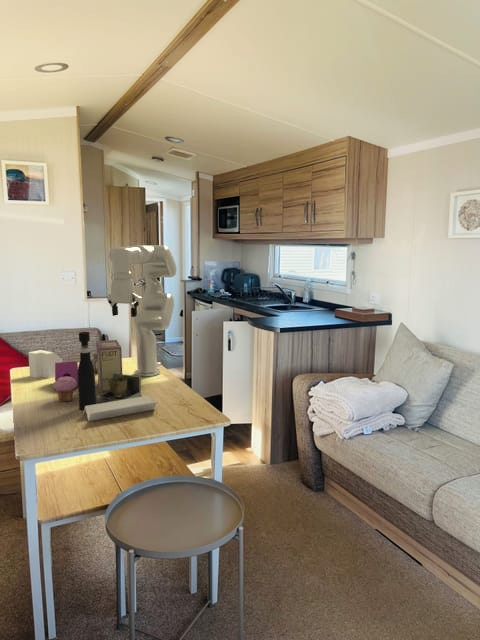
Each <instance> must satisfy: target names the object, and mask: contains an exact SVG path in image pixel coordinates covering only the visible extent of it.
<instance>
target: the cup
mask: <svg viewBox="0 0 480 640" xmlns="http://www.w3.org/2000/svg"><path fill="white" fill-rule="evenodd" d="M109 385H110V390H111V392H112V393H113V394H115V395H114V397H115V398H122V397H123V393H125V391H126V388H127V377H126V379H124V377H122V376H121V377H119V378H118V377H117V379H116V378H115V377H114V378H113V377H112V379H111V378H110V379H109Z"/></svg>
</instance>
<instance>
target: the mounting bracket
mask: <svg viewBox="0 0 480 640" xmlns="http://www.w3.org/2000/svg"><path fill="white" fill-rule="evenodd" d="M78 366H79V362H78V361H77V360H75V361H74V360H73V361H63V362H60V363H55V377H54V383H55V382H56V381H57V380H58V379H59V378H61V377H65V376H68V377H72V378H74V379H75V380H76V382H77V387H76V388H75V389H74V392H75V391H77V389H78Z"/></svg>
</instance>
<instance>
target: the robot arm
mask: <svg viewBox="0 0 480 640" xmlns="http://www.w3.org/2000/svg"><path fill="white" fill-rule="evenodd" d="M108 258H109V260H110V262H111V263H112V266H113V267H112V271H113V273H112V274H111V277H112V278H113V279H112V280H111V285H110V294H108V295H107V296H106V297H105V298H106V299H107V302H108V304H109V306H110V307H111V313H112V317H113V316H114V317H115V316H118V315H119V310H118V309H119V307H118V304H124V305H125V304H129V305H130V306H131V308H130V315H131V316H130V317H131V318H133V324H134V328H135V329H134V330H135V336H136V339H135V340H136V360H137V369H136V370H134V376H141V377H154V376H158V375H160V374H161V370H160V369H158V367H159V366H161V364H162V363H161V362H160V361H159V362H158V360H157V359H158V357H157V355H158V354H157V337H156V335H155V333H154V332H153V331H165V330H167V329H168V328H169V327H170V325H171V321H172V316H173V313H174V309H175V308H174V307H175V299H174V296H173V295H172V294H171V293H167V292H163V291H164V287H163V285H162V284H161V282H160V281H159V279H157V278H173V277H175V276H176V274H177V265H176V262H175V259H174V256H173V253H172V251H171V250H170V248H169V247H168V246H167V245H163V244H162V245H154V244H153V245H150V244H148V245H147V244H146V245H130V246H129V245H128V246H127V245H126V246H112V247H111V248H110V250H109V252H108ZM132 264H133V265H137V264H140V265H141V264H142V265H143V267H142V271H143V277H144V281H145V286H146V287H145V290H144V294H143V297H141V296H139V295H138V294H136V288H135V283H134V279H132ZM140 303H141V308H142V310H141V309H140V310H137V309H138V307H139V305H140Z"/></svg>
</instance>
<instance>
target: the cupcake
mask: <svg viewBox="0 0 480 640" xmlns="http://www.w3.org/2000/svg"><path fill="white" fill-rule="evenodd" d="M53 387H54V390H56V392H57V399H58V401H59V402H71V401H72V400H73V396H74V392H75V391H74V389H75V388H76V387H77V382H76V380H75V379H74V378H72V377H68V376H65V377H61V378H59V379H58V380H57V381H56V382H55V381H54V384H53Z"/></svg>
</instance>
